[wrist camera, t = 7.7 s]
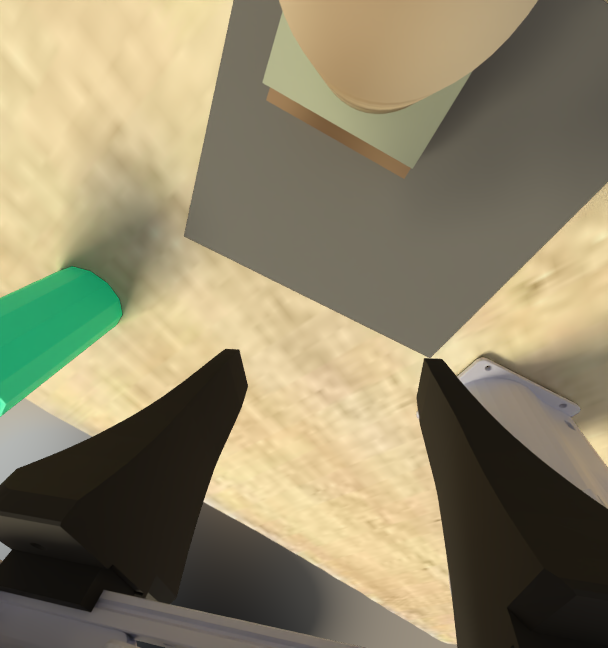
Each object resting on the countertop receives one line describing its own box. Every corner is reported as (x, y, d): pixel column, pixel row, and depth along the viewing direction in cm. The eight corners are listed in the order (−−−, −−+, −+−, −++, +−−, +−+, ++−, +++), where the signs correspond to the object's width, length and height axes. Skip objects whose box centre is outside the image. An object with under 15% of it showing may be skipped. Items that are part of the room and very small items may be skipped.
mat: (700, 80, 13) (712, 78, 12) (428, 354, 23) (429, 358, 22) (285, -216, 10) (282, -230, 10) (187, 234, 20) (183, 236, 20)
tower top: (511, -23, 10) (562, -76, 7) (402, 162, 13) (412, 168, 11) (353, -132, 9) (351, -231, 7) (281, 92, 12) (262, 82, 10)
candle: (77, 253, 23) (-141, 345, 13) (136, 311, 25) (-10, 427, 15) (42, 286, 25) (-162, 386, 15) (99, 337, 28) (-47, 451, 18)
